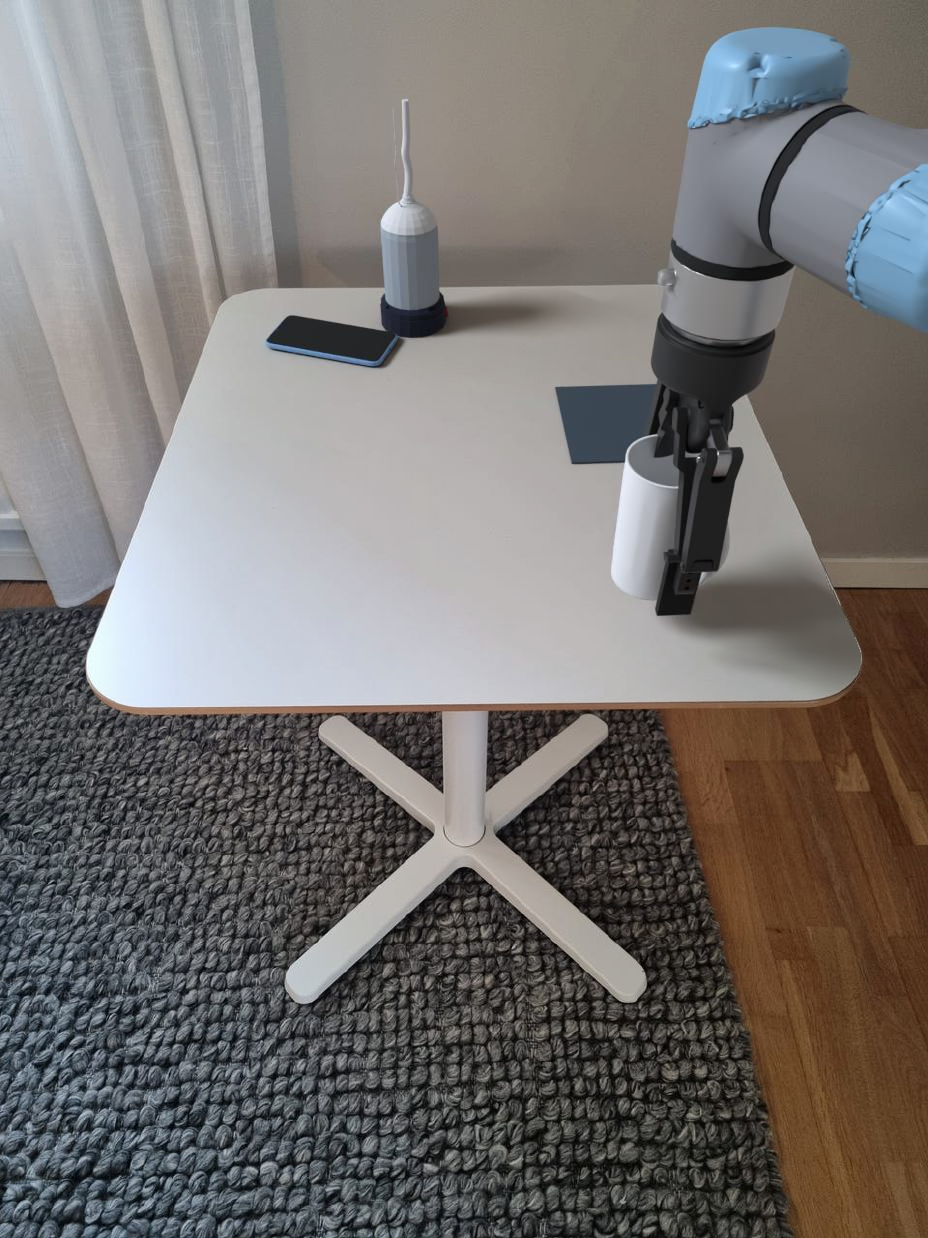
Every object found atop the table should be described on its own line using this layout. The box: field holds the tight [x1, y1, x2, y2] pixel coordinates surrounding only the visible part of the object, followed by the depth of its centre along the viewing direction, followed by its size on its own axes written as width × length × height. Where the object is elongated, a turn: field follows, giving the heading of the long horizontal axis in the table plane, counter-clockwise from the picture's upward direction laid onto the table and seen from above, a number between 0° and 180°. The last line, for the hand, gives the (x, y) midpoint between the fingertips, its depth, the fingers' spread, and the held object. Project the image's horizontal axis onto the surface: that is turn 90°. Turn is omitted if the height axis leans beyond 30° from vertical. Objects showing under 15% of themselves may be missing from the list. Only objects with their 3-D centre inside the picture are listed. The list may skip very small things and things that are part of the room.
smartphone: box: [265, 314, 398, 367], centre depth 106 cm, size 7×1×15 cm
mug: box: [610, 434, 731, 602], centre depth 68 cm, size 10×7×12 cm, turn 37°
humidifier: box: [379, 98, 449, 339], centre depth 101 cm, size 8×8×25 cm
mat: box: [554, 383, 656, 465], centre depth 95 cm, size 14×14×1 cm
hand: (661, 572), depth 72 cm, fingers closed on mug, 8 cm apart
